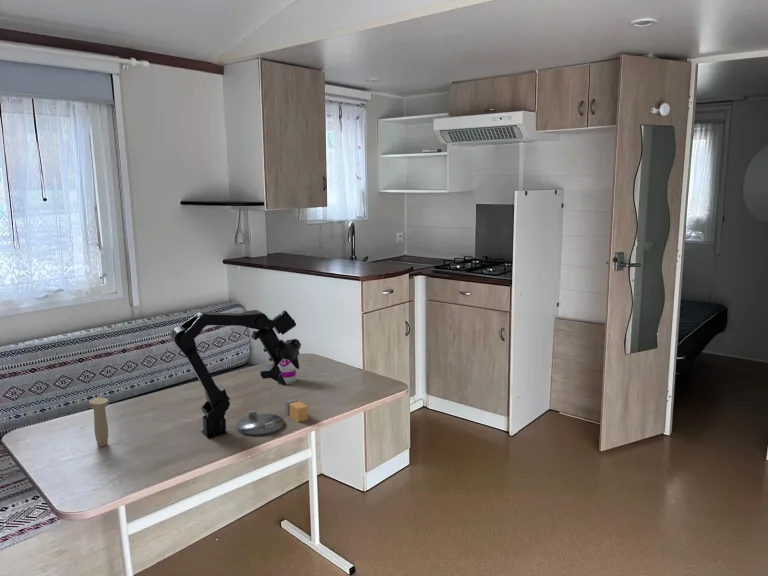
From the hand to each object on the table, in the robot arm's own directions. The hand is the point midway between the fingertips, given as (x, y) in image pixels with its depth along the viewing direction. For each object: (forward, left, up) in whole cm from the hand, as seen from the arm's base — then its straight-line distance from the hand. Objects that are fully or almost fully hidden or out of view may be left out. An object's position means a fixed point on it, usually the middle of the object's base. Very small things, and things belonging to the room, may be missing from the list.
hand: (291, 376), depth 211 cm
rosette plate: (-13, -1, -15) cm, 20 cm away
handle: (-60, +16, -15) cm, 64 cm away
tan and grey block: (+1, -2, -15) cm, 15 cm away
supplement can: (+16, +34, -15) cm, 41 cm away
